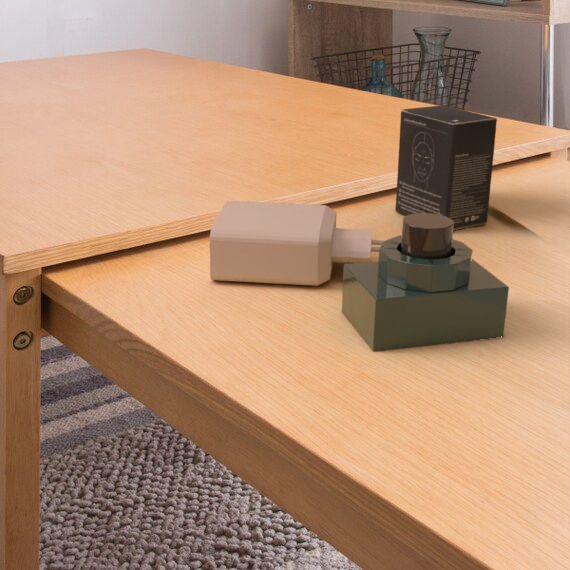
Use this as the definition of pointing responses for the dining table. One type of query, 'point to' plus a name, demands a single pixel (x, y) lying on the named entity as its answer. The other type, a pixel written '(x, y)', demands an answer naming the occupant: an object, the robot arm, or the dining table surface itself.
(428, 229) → the brown push button
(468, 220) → the box
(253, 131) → the dining table surface
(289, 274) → the charger
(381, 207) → the dining table surface
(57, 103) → the dining table surface
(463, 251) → the base
